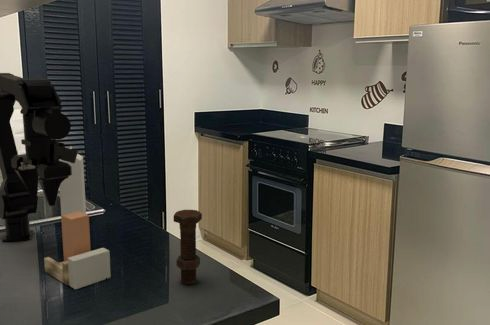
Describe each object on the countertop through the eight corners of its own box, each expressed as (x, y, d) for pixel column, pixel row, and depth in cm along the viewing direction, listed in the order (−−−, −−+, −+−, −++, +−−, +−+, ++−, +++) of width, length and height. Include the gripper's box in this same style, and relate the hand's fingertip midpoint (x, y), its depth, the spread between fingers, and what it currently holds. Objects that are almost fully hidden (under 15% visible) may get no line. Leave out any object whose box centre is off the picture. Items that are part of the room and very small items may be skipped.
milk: (86, 219, 139) (83, 145, 135) (84, 226, 133) (80, 148, 129) (64, 220, 138) (60, 145, 134) (61, 227, 132) (56, 149, 128)
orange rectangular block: (64, 269, 102) (61, 215, 99) (81, 263, 105) (78, 211, 102) (74, 274, 99) (71, 219, 97) (91, 268, 102) (88, 215, 100)
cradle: (44, 271, 103) (43, 251, 102) (83, 259, 110) (82, 241, 109) (66, 285, 96) (65, 264, 96) (106, 272, 103) (105, 252, 102)
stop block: (69, 285, 97) (67, 257, 96) (104, 273, 103) (103, 247, 101) (75, 289, 95) (73, 261, 94) (110, 277, 101) (109, 250, 100)
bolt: (196, 289, 96) (195, 218, 93) (172, 286, 97) (170, 216, 94) (204, 277, 101) (203, 209, 99) (181, 275, 102) (180, 208, 100)
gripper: (91, 135, 107) (95, 202, 110) (53, 128, 119) (58, 188, 122) (42, 140, 99) (48, 212, 102) (7, 132, 111) (13, 196, 114)
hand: (43, 201), depth 110 cm, fingers open, 9 cm apart
